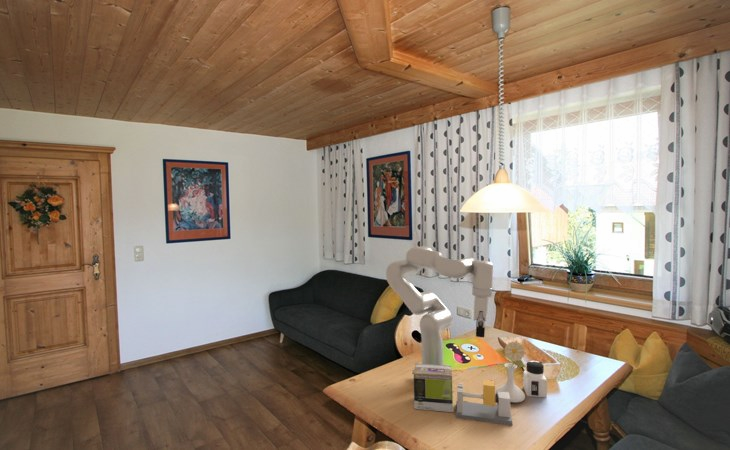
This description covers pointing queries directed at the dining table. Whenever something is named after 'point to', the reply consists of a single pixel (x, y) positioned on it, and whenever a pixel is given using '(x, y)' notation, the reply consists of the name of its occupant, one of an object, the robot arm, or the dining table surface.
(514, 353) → the flower in vase
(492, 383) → the sleeve
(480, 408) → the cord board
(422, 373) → the tea box
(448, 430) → the dining table surface
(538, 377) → the container
